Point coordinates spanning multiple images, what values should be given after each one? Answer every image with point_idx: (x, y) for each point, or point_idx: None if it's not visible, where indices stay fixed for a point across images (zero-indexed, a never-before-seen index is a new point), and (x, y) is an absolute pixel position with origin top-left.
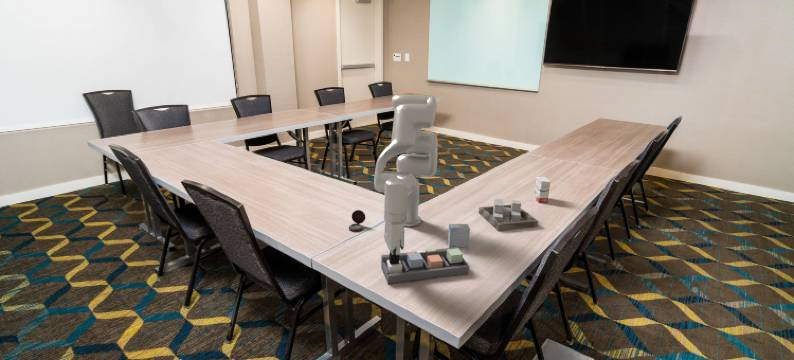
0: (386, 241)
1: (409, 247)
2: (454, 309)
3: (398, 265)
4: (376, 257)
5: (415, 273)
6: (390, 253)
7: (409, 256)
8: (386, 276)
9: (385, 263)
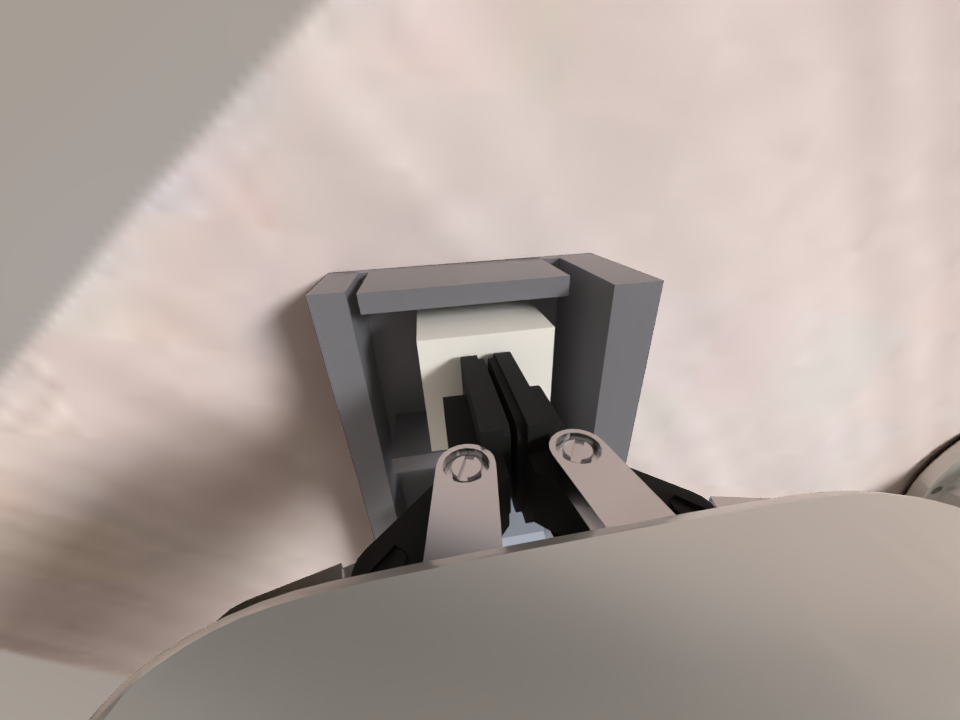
0: (705, 641)
1: (738, 457)
2: (85, 600)
3: (433, 424)
4: (740, 235)
5: (365, 503)
6: (526, 428)
7: (509, 541)
8: (385, 277)
9: (576, 299)
